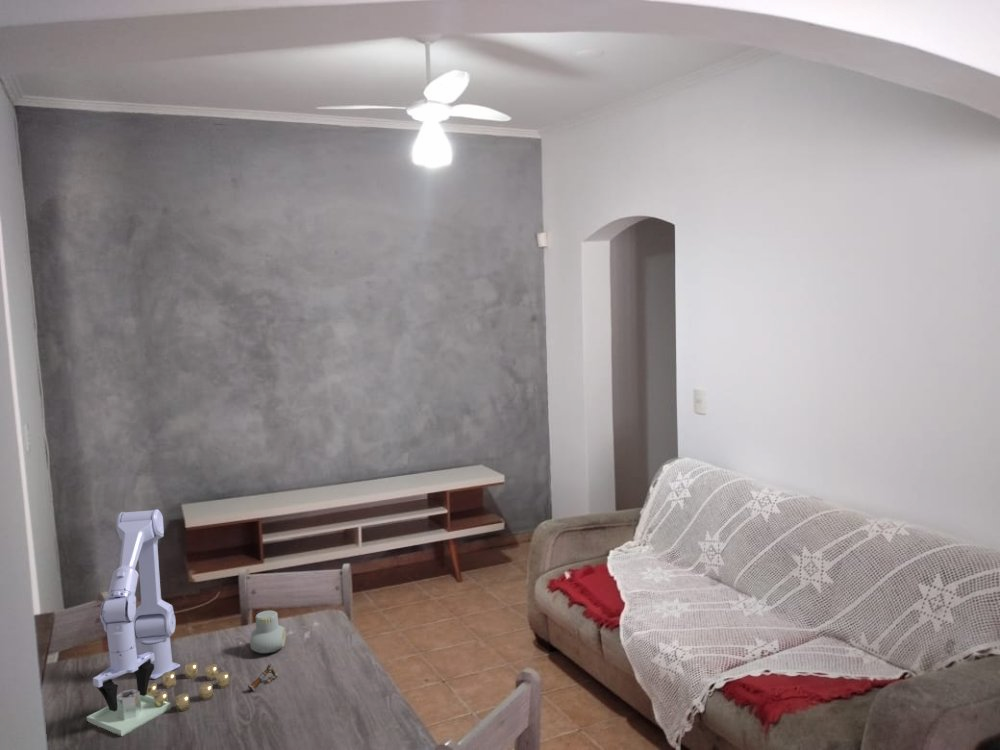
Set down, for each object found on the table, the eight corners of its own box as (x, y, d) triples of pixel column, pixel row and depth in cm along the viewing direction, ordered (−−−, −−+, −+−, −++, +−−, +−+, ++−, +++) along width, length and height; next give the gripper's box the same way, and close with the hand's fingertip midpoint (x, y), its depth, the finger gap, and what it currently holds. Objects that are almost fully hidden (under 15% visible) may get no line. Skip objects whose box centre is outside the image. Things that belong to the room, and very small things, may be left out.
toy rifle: (282, 674, 203) (274, 662, 201) (258, 699, 198) (251, 686, 196) (277, 672, 204) (270, 660, 202) (254, 697, 199) (246, 684, 197)
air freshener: (257, 641, 225) (254, 607, 224) (287, 638, 226) (284, 605, 225) (250, 659, 214) (246, 624, 213) (281, 656, 215) (278, 621, 214)
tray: (87, 722, 186) (86, 716, 186) (137, 696, 197) (136, 691, 197) (121, 736, 179) (120, 730, 179) (171, 708, 190) (170, 702, 190)
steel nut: (114, 716, 187) (111, 696, 187) (131, 707, 191) (129, 687, 190) (127, 721, 185) (125, 701, 184) (145, 712, 188) (142, 692, 188)
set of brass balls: (134, 700, 195) (132, 689, 195) (195, 668, 210) (194, 657, 210) (179, 716, 186) (178, 704, 186) (239, 682, 202) (238, 671, 201)
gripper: (103, 664, 178) (110, 721, 179) (160, 637, 190) (165, 691, 192) (85, 657, 181) (91, 714, 183) (141, 632, 194) (147, 685, 195)
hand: (128, 702), depth 188 cm, fingers open, 7 cm apart
